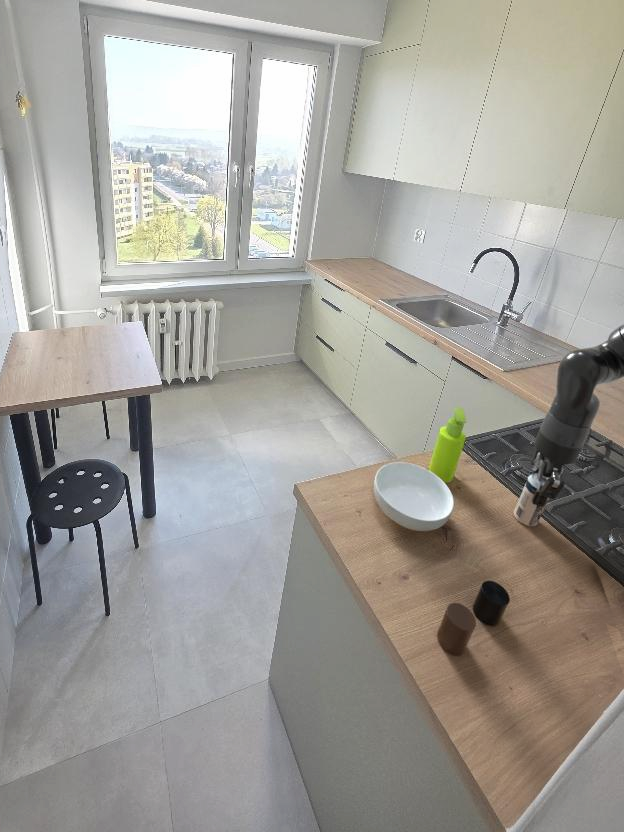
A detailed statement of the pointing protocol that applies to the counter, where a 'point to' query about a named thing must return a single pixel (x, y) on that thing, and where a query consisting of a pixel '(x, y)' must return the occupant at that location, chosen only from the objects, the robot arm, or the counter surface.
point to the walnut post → (456, 629)
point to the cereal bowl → (413, 496)
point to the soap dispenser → (448, 447)
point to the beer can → (529, 503)
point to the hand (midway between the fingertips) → (535, 495)
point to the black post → (491, 603)
